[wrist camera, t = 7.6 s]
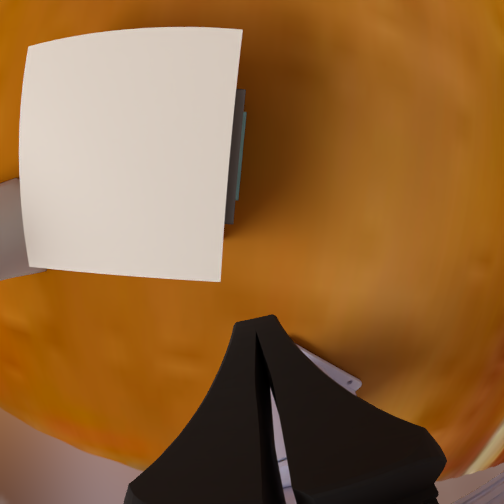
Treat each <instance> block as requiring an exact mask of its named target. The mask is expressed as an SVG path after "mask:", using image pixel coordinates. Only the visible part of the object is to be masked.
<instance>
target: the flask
mask: <svg viewBox="0 0 504 504" xmlns="http://www.w3.org/2000/svg"><path fill="white" fill-rule="evenodd" d="M46 269H47V268H37V267H29V262H28V256H27V249H26V242H25V235H24V227H23V218H22V207H21V194H20V180H19V179H17V178H15V179H12V180H9V181H6V182H3V183H0V280H4V279H8V278H12V277H18V276H23V275H29V274H34V273H39V272H43V271H46Z"/></svg>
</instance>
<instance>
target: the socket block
mask: <svg viewBox="0 0 504 504" xmlns="http://www.w3.org/2000/svg"><path fill="white" fill-rule="evenodd" d="M242 33H243V30H241V29H228V28H210V27H157V28H139V29H126V30H116V31H107V32H99V33H92V34H86V35H80V36H74V37H68V38H63V39H58V40H54V41H49V42H45V43H41V44H36V45H33V46H29V47H28V52H27V58H26V65H25V72H24V79H23V88H22V98H21V111H20V130H19V174H20V194H21V207H22V218H23V227H24V235H25V242H26V249H27V256H28V262H29V267H37V268H47V269H57V270H67V271H78V272H89V273H101V274H113V275H125V276H138V277H152V278H166V279H181V280H197V281H214V282H220V280H221V264H222V248H223V234H224V224H233V222H234V210H235V198H236V187H237V175H238V164H239V153H240V143H241V132H242V122H243V112H244V102H245V93H246V90H244V89H236V86H237V76H238V67H239V58H240V50H241V41H242Z"/></svg>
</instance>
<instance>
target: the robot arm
mask: <svg viewBox="0 0 504 504" xmlns="http://www.w3.org/2000/svg"><path fill="white" fill-rule="evenodd" d="M361 385H362V383H361V381H360V380H359V379H357V378H356V377H354V376H352V375H350V374H348V373H346V372H345V371H343V370H341V369H339V368H337V367H336V366H334V365H332V364H330V363H329V362H327V361H325V360H323V359H321V358H320V357H318V356H316V355H314V354H313V353H311V352H309V351H308V350H306V349H304V348H302V347H301V346H299V345H297V344H296V343H294V342H293V340H292V339H291V338H290V337H289V335H288V334H287V333H286V331H285V330H284V329H283V327H282V326H281V324H280V322H279V321H278V319H277V317H276V316H275V315H268V316H263V317H259V318H254V319H250V320H245V321H240V322H236V323H235V325H234V327H233V332H232V335H231V339H230V342H229V345H228V348H227V351H226V354H225V356H224V359H223V361H222V364H221V366H220V369H219V371H218V373H217V375H216V377H215V379H214V381H213V383H212V385H211V387H210V389H209V391H208V393H207V395H206V396H205V398H204V400H203V402H202V403H201V405H200V406H199V408H198V410H197V411H196V413H195V414H194V415H193V417H192V418H191V420H190V421H189V423H188V424H187V425H186V427H185V428H184V429H183V431H182V432H181V433H180V434H179V436H178V437H177V438H176V439H175V440H174V441H173V443H172V444H171V445H170V446H169V447H168V448H167V449H166V450H165V451H164V453H163V454H162V455H161V456H160V457H159V458H158V459H157V460H156V461H155V462H154V463H153V464H152V465H150V466H149V467H148V468H147V469H146V470H145V471H144V472H143V473H141V474H140V475H139V476H138V477H137V478H136V479H135V480H134V481H132V482H131V483H129V485H128V490H127V493H126V496H125V500H124V504H439V503H438V501H437V499H436V497H437V496H438V491H437V489H436V487H435V485H434V483H435V481H436V480H437V478H438V477H439V475H440V474H441V472H442V471H443V469H444V467H445V465H446V462H447V460H446V457H445V455H444V453H443V451H442V449H441V448H440V446H439V445H438V443H437V442H436V441H435V439H434V438H433V437H432V436H431V435H430V433H429V432H428V431H427V430H426V429H425V428H423V427H421V426H418V425H415V424H412V423H410V422H407V421H405V420H402V419H400V418H397V417H395V416H393V415H391V414H389V413H387V412H384V411H382V410H380V409H378V408H376V407H375V406H373V405H371V404H369V403H368V402H366V401H364V400H363V399H361V398H359V397H357V395H356V393H355V391H356V390H358V389H359V388H360V387H361ZM451 504H504V472H502V473H500V474H499V475H497V476H496V477H494V478H493V479H491V480H490V481H488V482H487V483H485V484H484V485H482V486H480V487H479V488H477V489H476V490H474V491H472V492H471V493H469V494H467V495H466V496H464V497H462V498H460V499H458V500H457V501H455V502H453V503H451Z"/></svg>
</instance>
